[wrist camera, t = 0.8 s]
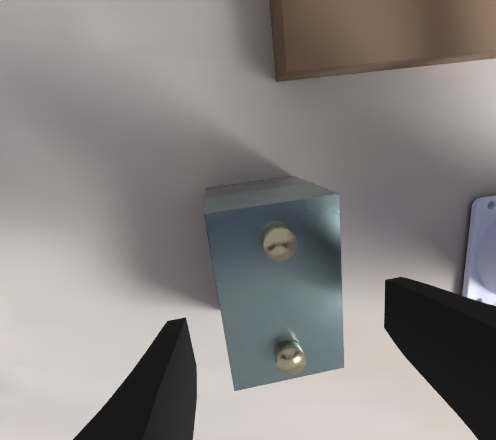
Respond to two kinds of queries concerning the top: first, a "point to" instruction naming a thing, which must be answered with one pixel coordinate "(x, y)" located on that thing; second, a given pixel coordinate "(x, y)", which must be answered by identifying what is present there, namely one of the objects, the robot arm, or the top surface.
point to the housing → (277, 278)
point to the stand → (378, 35)
